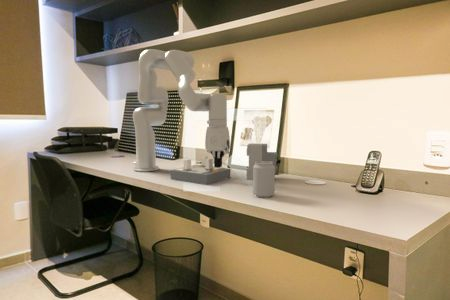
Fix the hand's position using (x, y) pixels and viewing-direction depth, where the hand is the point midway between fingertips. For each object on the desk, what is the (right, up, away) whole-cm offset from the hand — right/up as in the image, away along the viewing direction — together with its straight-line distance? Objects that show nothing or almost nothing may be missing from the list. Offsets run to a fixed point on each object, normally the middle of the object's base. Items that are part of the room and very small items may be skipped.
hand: (218, 166), depth 138 cm
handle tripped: (-4, -1, +3) cm, 5 cm away
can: (+16, -9, -24) cm, 30 cm away
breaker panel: (-8, -5, +6) cm, 11 cm away
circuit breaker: (+20, -6, +6) cm, 21 cm away
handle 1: (-13, -1, +2) cm, 14 cm away
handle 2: (-6, 0, +12) cm, 14 cm away
